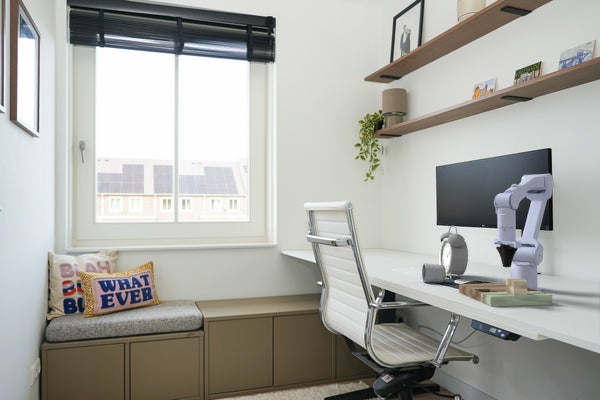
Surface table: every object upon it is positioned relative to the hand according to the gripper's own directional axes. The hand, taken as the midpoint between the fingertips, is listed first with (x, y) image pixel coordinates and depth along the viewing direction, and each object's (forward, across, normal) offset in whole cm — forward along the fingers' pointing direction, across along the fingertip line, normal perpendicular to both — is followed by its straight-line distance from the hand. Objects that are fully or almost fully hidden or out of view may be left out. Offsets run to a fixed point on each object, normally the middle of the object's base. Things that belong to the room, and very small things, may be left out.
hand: (506, 267), depth 160 cm
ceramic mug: (+10, -28, -16) cm, 33 cm away
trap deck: (+9, +6, -5) cm, 12 cm away
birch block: (+6, +14, -5) cm, 16 cm away
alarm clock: (+10, -39, -2) cm, 40 cm away
